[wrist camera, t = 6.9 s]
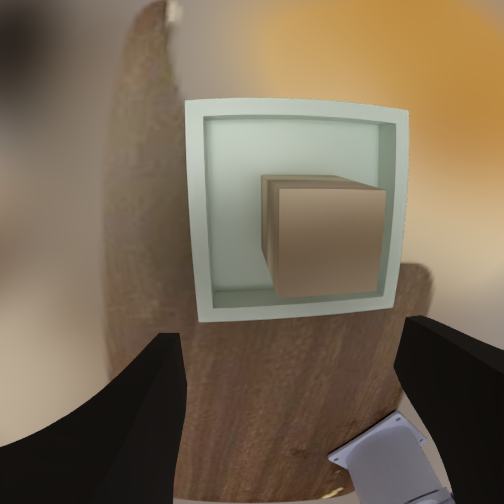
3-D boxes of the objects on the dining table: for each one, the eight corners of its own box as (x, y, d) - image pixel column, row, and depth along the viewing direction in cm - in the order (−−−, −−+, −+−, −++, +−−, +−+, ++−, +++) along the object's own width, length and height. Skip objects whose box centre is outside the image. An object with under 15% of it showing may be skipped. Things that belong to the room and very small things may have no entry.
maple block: (331, 246, 18) (376, 291, 12) (261, 248, 17) (277, 298, 12) (334, 175, 16) (386, 190, 11) (260, 174, 16) (279, 189, 10)
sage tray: (375, 289, 19) (392, 307, 17) (201, 300, 19) (198, 322, 16) (386, 113, 16) (408, 110, 14) (191, 107, 15) (184, 100, 13)
